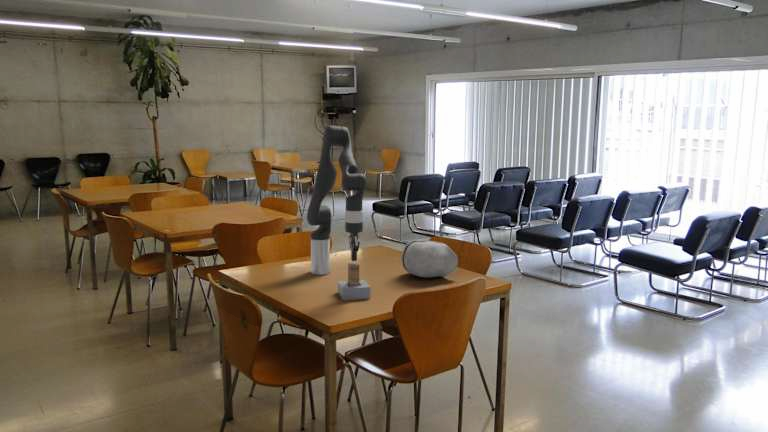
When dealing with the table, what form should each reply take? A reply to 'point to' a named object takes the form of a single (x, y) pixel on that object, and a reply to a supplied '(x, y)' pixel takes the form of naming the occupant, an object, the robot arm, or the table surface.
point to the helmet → (429, 259)
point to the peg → (353, 274)
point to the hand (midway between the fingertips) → (354, 260)
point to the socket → (354, 290)
